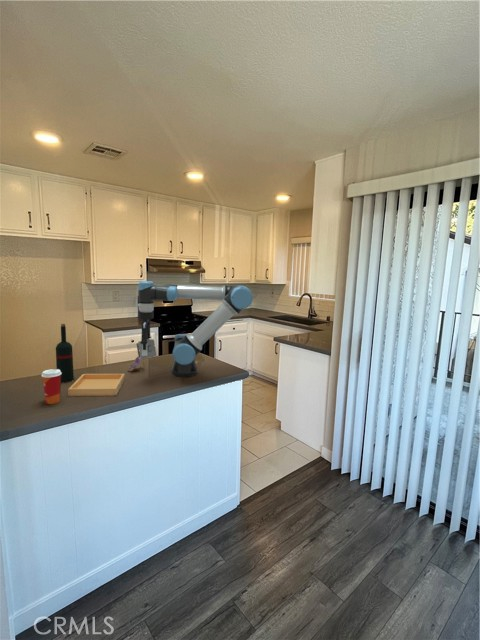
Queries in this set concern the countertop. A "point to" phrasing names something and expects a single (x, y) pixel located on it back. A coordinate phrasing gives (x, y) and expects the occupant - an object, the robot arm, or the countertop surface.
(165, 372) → the countertop surface
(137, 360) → the lily
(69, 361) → the wine bottle
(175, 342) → the robot arm
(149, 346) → the electrical switch
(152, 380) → the countertop surface
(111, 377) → the wooden tray
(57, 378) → the paper cup
